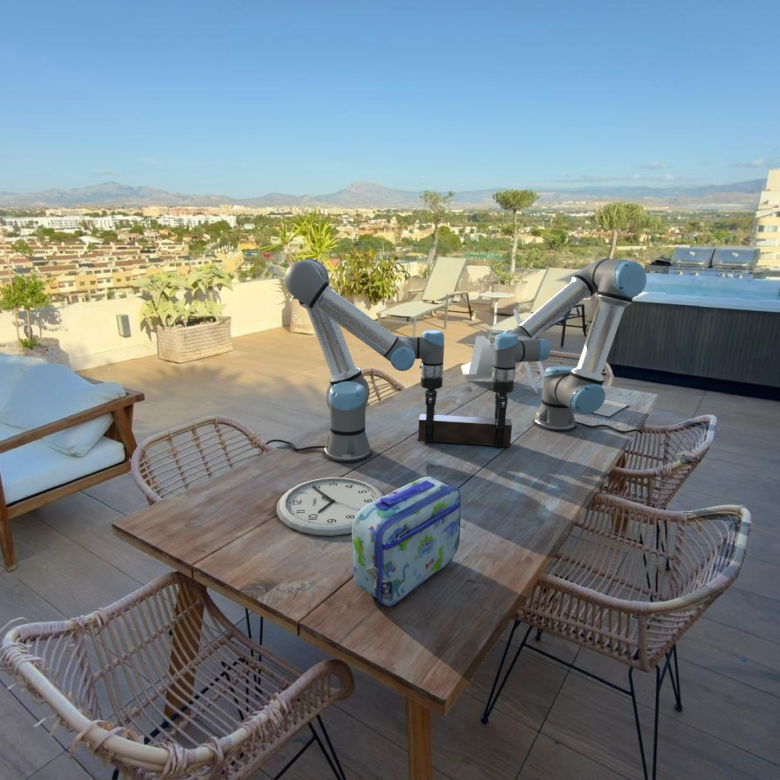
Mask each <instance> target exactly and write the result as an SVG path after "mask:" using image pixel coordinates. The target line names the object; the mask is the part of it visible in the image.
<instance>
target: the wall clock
mask: <svg viewBox="0 0 780 780" xmlns="http://www.w3.org/2000/svg"><path fill="white" fill-rule="evenodd" d="M383 496H385V494H384V493H383V492H382V491H381V490H380V489H379V488H377V487H376V486H374V485H372V484H371V483H369V482H365V481H362V480H359V479H355V478H349V477H338V476H337V477H335V476H333V477H332V476H331V477H322V478H317V479H312V480H307V481H305V482H302V483H299V484H297V485H295V486H293V487H292V488H290V489H288V490H287V491H286V492H285V493H284V494H283V495H281V496H280V498H279V499H278V502H277V503H276V515H277V517H278V518H279V520H280V521H281V522H282V523H283V524H285V525H286V526H287V527H288V528H290V529H293V530H295V531H297V532H299V533H303V534H308V535H312V536H327V537H328V536H329V537H331V536H332V537H333V536H342V535H350V534H352V526H353V521H354V518H355V516H356V515H357V513H358V512H359V510H360V509H361V508H362V507H364V506H365V505H367V504H369V503H371V502H373V501H375V500H377V499H379V498H381V497H383Z"/></svg>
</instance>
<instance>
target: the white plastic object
mask: <svg viewBox="0 0 780 780" xmlns="http://www.w3.org/2000/svg"><path fill="white" fill-rule="evenodd" d="M512 312H513V314H514V318H515V321H516V323H517V326H519V325H520V324H521V323H522V322H523V321H522V319H521V316H520V314H519V312H518V310H517V309H516V308H514V309H512ZM494 343H495V342H493V343H491V341H489V339H488V338H487V337H486V336H485V335H476V336H475V341H474V347H473V350H472V355H471V360H470V361H469V362H467V363H465V364H463V365H461V366H460V367H461V372H462V376H463V377H464V378H465V380H466V381H473V380H482V379H483V380H484V379H490V378H491V379H493V378H492V373H493V372H491V369H493V356H494ZM519 363H520V362H516V365H518V364H519ZM535 363H536V365H537V369H538V370H539V374H540V377H541V380H542V383H543V382H544V374H545V369H544V366H543V364H542V361H538V362H537V361H535ZM523 366H524V369H525V371H526V374H527V377H528V381H529V384H530V387H531V388H532V390H533V392H534V393H535V394H538V388H537V385H536V382H535V378H534V375H533V372H532V369H531V366H530V362H523Z"/></svg>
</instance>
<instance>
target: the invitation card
mask: <svg viewBox="0 0 780 780" xmlns="http://www.w3.org/2000/svg"><path fill="white" fill-rule="evenodd" d="M628 406H629V404H627V403H623V402H618V401H614V400H609V399H606V398H605V400H604V403H603V404H602V406H601V407H600V408H599V409H598V410H596V411H594V412H593V413H592V414H596V415H600V416H604V417H608V418H609V417H611V416H613V415H614V414H616V413H617V412H619V411H621V410H623V409H624V408H626V407H628Z"/></svg>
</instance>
